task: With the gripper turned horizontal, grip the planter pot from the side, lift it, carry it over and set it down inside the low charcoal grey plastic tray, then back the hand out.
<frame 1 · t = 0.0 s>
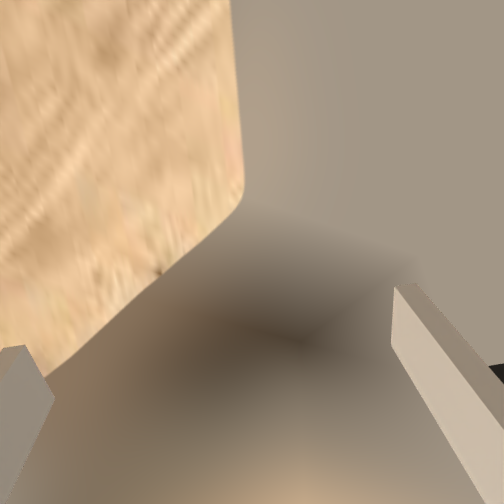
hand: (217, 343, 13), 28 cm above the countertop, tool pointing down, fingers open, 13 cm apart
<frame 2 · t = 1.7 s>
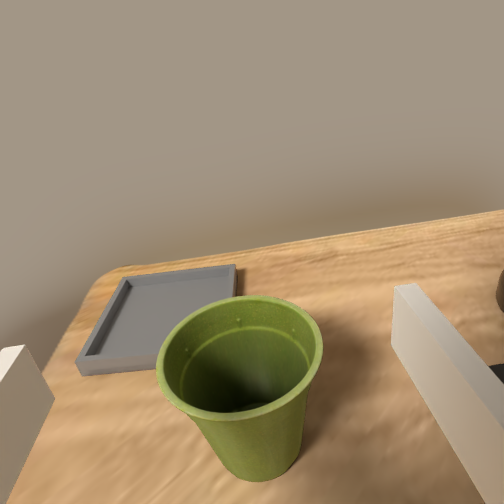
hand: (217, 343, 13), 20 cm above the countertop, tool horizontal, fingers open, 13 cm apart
plant pot: (259, 443, 32), on the countertop
tray: (170, 319, 49), on the countertop
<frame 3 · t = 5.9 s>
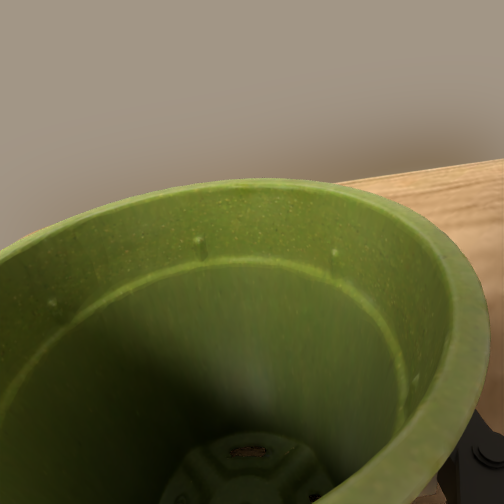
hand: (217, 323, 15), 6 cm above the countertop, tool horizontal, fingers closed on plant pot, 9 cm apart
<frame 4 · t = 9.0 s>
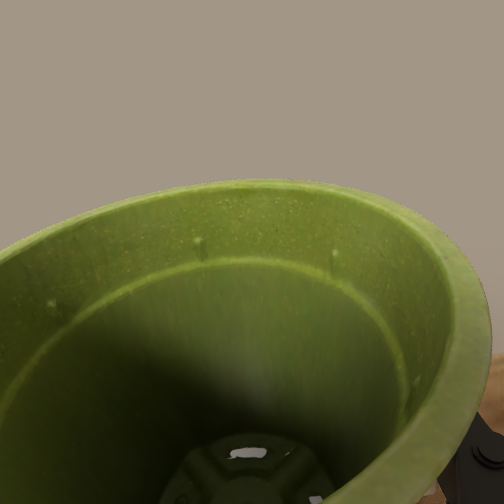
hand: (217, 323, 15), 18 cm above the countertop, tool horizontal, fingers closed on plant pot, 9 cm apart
when the fingers open (8 cm above the countertop, at t = 11.9 s): plant pot drops 1 cm, resting on tray.
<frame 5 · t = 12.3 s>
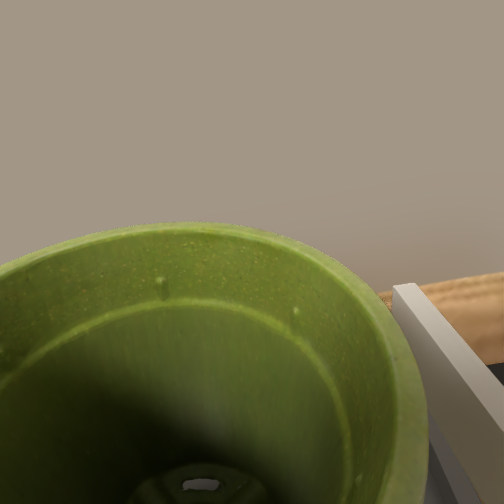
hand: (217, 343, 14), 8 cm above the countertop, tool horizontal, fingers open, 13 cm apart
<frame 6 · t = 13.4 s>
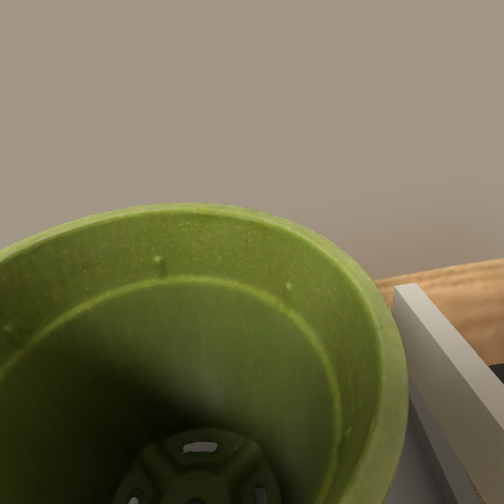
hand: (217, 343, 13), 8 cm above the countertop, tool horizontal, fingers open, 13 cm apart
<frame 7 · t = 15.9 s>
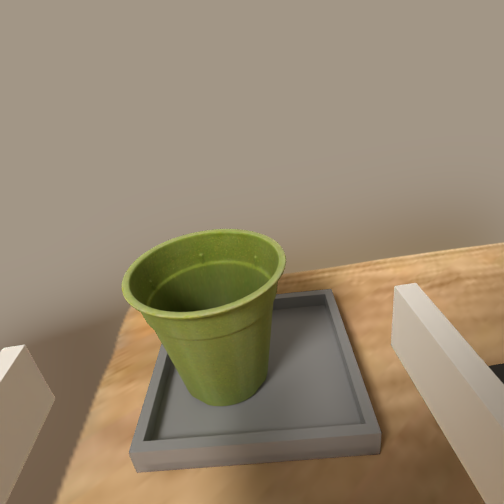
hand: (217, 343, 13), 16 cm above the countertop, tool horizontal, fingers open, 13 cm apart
plant pot: (226, 376, 32), point 1 cm above the countertop, touching tray
tray: (254, 371, 33), on the countertop
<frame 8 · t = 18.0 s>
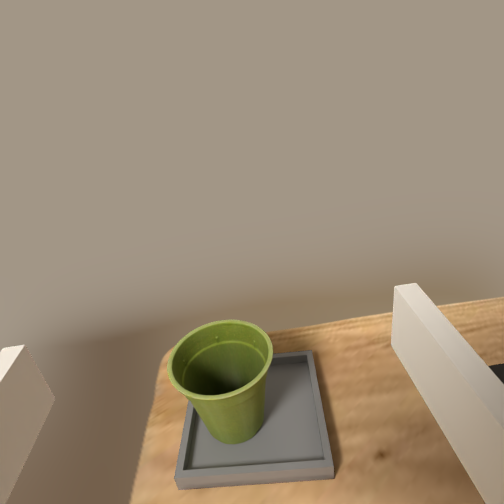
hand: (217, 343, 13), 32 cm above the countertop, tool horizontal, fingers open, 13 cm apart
plant pot: (235, 421, 47), point 1 cm above the countertop, touching tray
tray: (255, 416, 48), on the countertop
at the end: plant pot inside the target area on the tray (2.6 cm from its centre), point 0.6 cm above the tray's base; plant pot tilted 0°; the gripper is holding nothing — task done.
